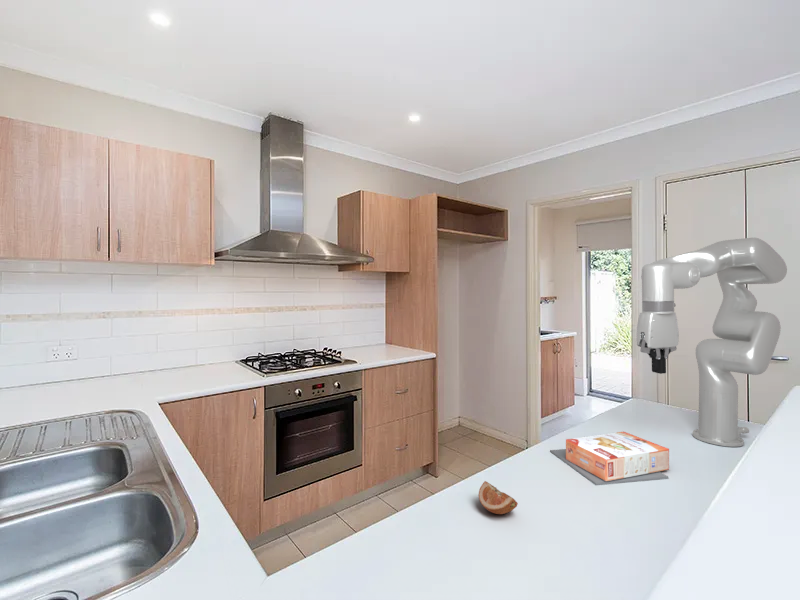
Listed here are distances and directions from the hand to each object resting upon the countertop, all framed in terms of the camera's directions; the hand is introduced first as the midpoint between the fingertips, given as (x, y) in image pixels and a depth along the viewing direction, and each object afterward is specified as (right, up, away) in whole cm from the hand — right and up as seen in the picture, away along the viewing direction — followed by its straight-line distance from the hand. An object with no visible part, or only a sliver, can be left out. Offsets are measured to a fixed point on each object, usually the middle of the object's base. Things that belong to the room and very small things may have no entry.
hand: (658, 372), depth 111 cm
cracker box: (-6, -20, -4) cm, 21 cm away
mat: (-18, -24, -5) cm, 30 cm away
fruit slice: (-53, -24, -28) cm, 64 cm away
